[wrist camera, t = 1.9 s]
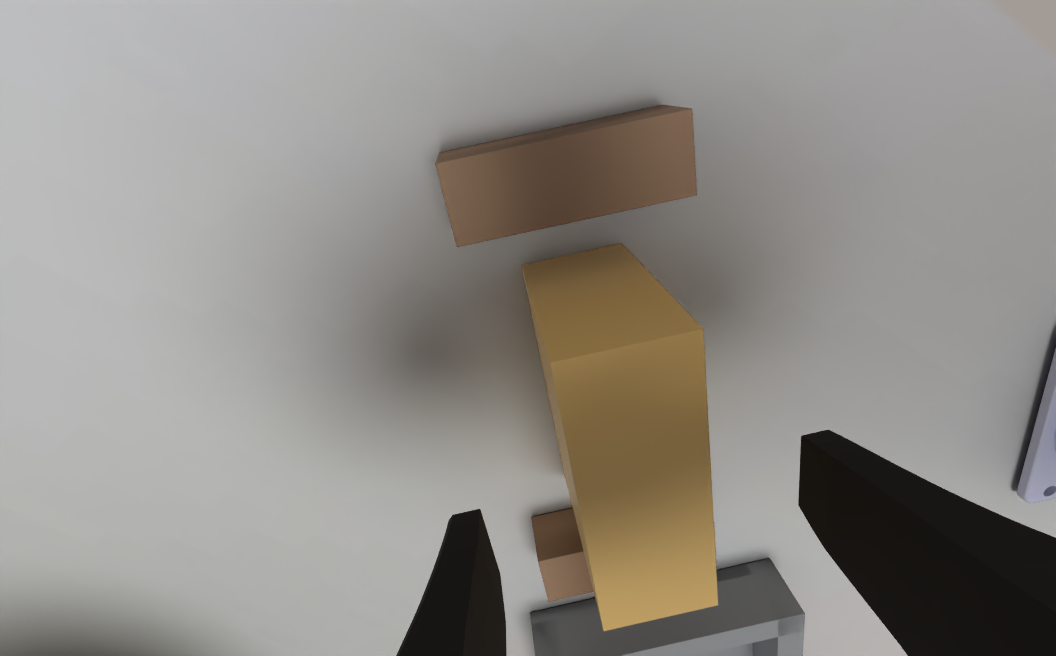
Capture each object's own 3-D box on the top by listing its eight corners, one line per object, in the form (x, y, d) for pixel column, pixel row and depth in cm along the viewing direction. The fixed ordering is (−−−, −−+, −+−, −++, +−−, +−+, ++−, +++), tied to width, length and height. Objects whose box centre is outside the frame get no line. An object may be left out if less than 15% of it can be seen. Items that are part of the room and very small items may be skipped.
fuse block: (621, 242, 16) (703, 329, 10) (646, 456, 19) (718, 605, 14) (521, 264, 16) (550, 363, 10) (564, 474, 19) (603, 631, 14)
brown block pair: (663, 105, 14) (692, 108, 12) (694, 520, 21) (716, 563, 19) (439, 153, 14) (435, 163, 12) (541, 555, 20) (548, 601, 19)
